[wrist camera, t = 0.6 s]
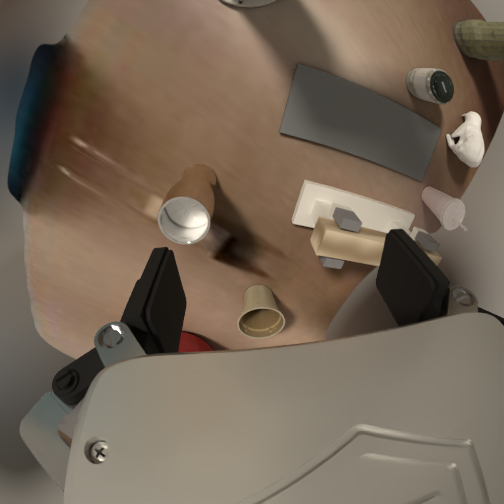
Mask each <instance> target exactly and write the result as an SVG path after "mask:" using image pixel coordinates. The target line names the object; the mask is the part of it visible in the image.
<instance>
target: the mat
mask: <svg viewBox="0 0 504 504" xmlns="http://www.w3.org/2000/svg"><path fill="white" fill-rule="evenodd" d="M440 131H441V129H440V128H439V127H437V126H436V125H434V124H433V123H431V122H429V121H428V120H426V119H424V118H423V117H421V116H419V115H418V114H416V113H414V112H412V111H411V110H409V109H407V108H405V107H403V106H401V105H399V104H398V103H396V102H394V101H392V100H390V99H388V98H386V97H384V96H382V95H380V94H377V93H375V92H373V91H371V90H369V89H367V88H364V87H362V86H360V85H357V84H355V83H353V82H350V81H348V80H345V79H343V78H340V77H337V76H335V75H332V74H329V73H326V72H324V71H321V70H318V69H315V68H312V67H309V66H306V65H302V64H297V68H296V72H295V75H294V79H293V82H292V86H291V90H290V93H289V97H288V100H287V104H286V108H285V111H284V115H283V119H282V122H281V126H280V130H279V132H280V133H284V134H288V135H292V136H295V137H299V138H303V139H306V140H310V141H313V142H317V143H320V144H323V145H326V146H330V147H333V148H336V149H339V150H342V151H345V152H348V153H351V154H354V155H356V156H359V157H362V158H365V159H367V160H370V161H373V162H375V163H378V164H381V165H383V166H386V167H388V168H391V169H393V170H396V171H398V172H400V173H403V174H405V175H407V176H410V177H412V178H414V179H416V180H419V181H421V182H422V180H423V178H424V175H425V173H426V170H427V168H428V165H429V162H430V160H431V157H432V154H433V152H434V149H435V146H436V143H437V140H438V137H439V134H440Z"/></svg>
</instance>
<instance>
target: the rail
mask: <svg viewBox="0 0 504 504" xmlns="http://www.w3.org/2000/svg"><path fill="white" fill-rule="evenodd" d="M386 234H387V233H385V232H381V231H377V230H373V229H369V228H366V227H362V226H361V227H360V229H359V232H355V231H351V230H347V229H343V228H340V227H339V226H338V224H337V223H336V221H335V220H333V219H329V218H324V217H320V216H319V217H318V220H317V222H316V225H315V228H314V230H313V233H312V235H311V238H310V241H311V243H312V246H313V248H314V251H315V253H316V255H320V256H326V257H331V258H337V259H342V260H348V261H353V262H359V263H364V264H370V265H375V266H380V261H381V257H382V252H383V247H384V242H385V237H386ZM415 242H416V243H417V244H418V245H419V247H420V248H421V249H422V250H423V251H424V252H425V253H426V254H427V255H428V256H429V258H430V259H431V260H432V261H433V262H434V263H435V264H436V266H438V264H439V263H440V261H441V259H442V257H441V256H440V255H439V254H438V253H437V252H433V251H429V250H426V249H424V248H423V247H422V246H421V244H420V243H419V242H417V241H415Z"/></svg>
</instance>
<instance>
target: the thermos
mask: <svg viewBox="0 0 504 504" xmlns="http://www.w3.org/2000/svg"><path fill="white" fill-rule="evenodd" d="M453 36H454V40H455V42H456V44H457V46H458V48H459V49H460V51H461V52H462V53H463V54H464V55H466V56H467V57H470V58H477V59H481V60H490V61H495V60H497V59H500V60H504V22H485V21H483V20H480V19H479V20H465V21H459V22H456V23H455V24H454V26H453Z"/></svg>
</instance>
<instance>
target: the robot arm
mask: <svg viewBox="0 0 504 504" xmlns="http://www.w3.org/2000/svg"><path fill="white" fill-rule="evenodd" d="M221 1H223V2H225V3H227V4H230V5H233V6H237V7H245V8H253V7H261V6H265V5H268V4H271V3H273V2H275V1H277V0H221ZM239 2H242V4H239ZM449 284H450V281H449V280H448V279H447V277H446V276H445V275H444V274H443V273H442V271H441V270H440V269H439V268H438V267H437V266H436V264H435V263H434V262H433V261H432V260H431V259H430V258H429V256H428V255H427V254H426V253H425V252H424V251H423V250H422V249H421V248H420V247H419V245H418V244H417V243H416V242H415V241H414V240H413V239H412V238H411V237H410V236H409V235H408V234H407V233H406V232H405V231H404V230H403V229H391V230H390V231H389V233H387V234H386V237H385V242H384V247H383V252H382V257H381V261H380V266H379V270H378V274H377V278H376V286H377V288H378V290H379V292H380V294H381V295H382V297H383V299H384V301H385V302H386V304H387V306H388V308H389V310H390V311H391V313H392V315H393V317H394V319H395V320H396V322H397V324H398V326H399V327H395V328H390V329H386V330H381V331H376V332H371V333H365V334H359V335H354V336H348V337H342V338H336V339H329V340H322V341H315V342H308V343H300V344H292V345H283V346H274V347H263V348H252V349H238V350H222V351H203V352H180V353H178V350H179V344H180V338H181V332H182V327H183V321H184V316H185V310H186V297H185V293H184V290H183V287H182V283H181V279H180V276H179V272H178V268H177V265H176V261H175V257H174V253H173V251H172V250H169V249H168V248H167V247H162V248H154V249H153V251H152V253H151V256H150V258H149V260H148V262H147V264H146V267H145V269H144V271H143V274H142V276H141V278H140V279H139V280H138V281H137V282H136V284H135V286H134V289H133V291H132V293H131V296H130V298H129V301H128V303H127V305H126V308H125V310H124V313H123V315H122V318H121V321H120V322H110V323H108V324H106V325H104V326H103V327H101V328H100V329H99V330H98V331H97V333H96V335H95V338H94V344H95V348H93V349H92V350H90V351H89V352H87V353H86V354H84V355H83V356H81V357H80V358H78V359H77V360H75V361H74V362H72V363H71V364H69V365H67V366H66V367H64V368H63V369H62V370H60V371H59V372H58V373H57V374H56V375H55V377H54V379H53V382H52V389H53V391H52V392H51V393H49V392H46V394H45V395H44V396H43V397H42V398H41V399H40V400H39V401H38V402H37V404H36V405H35V406H34V407H33V408H32V409H31V411H30V412H29V413H28V414H27V415H26V416H25V418H24V419H23V420H22V422H21V424H20V435H21V437H22V439H23V440H24V442H25V443H26V445H27V446H28V448H29V449H30V451H31V452H32V453H33V455H34V456H35V458H36V459H37V460H38V461H39V463H40V464H41V465H42V467H43V468H44V469H45V470H46V472H47V473H48V474H49V475H50V477H51V478H52V479H53V480H54V481H55V482H56V484H57V485H58V486H59V487H60V488H61V489H62V490H63V491H64V504H504V318H502V317H500V316H497V315H495V314H493V313H491V312H488V311H486V310H484V309H482V308H479V307H478V301H477V298H476V296H475V294H474V293H473V292H472V291H471V290H469V289H468V288H465V287H462V286H454V287H452V288H451V290H450V289H449V288H448V286H449Z"/></svg>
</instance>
